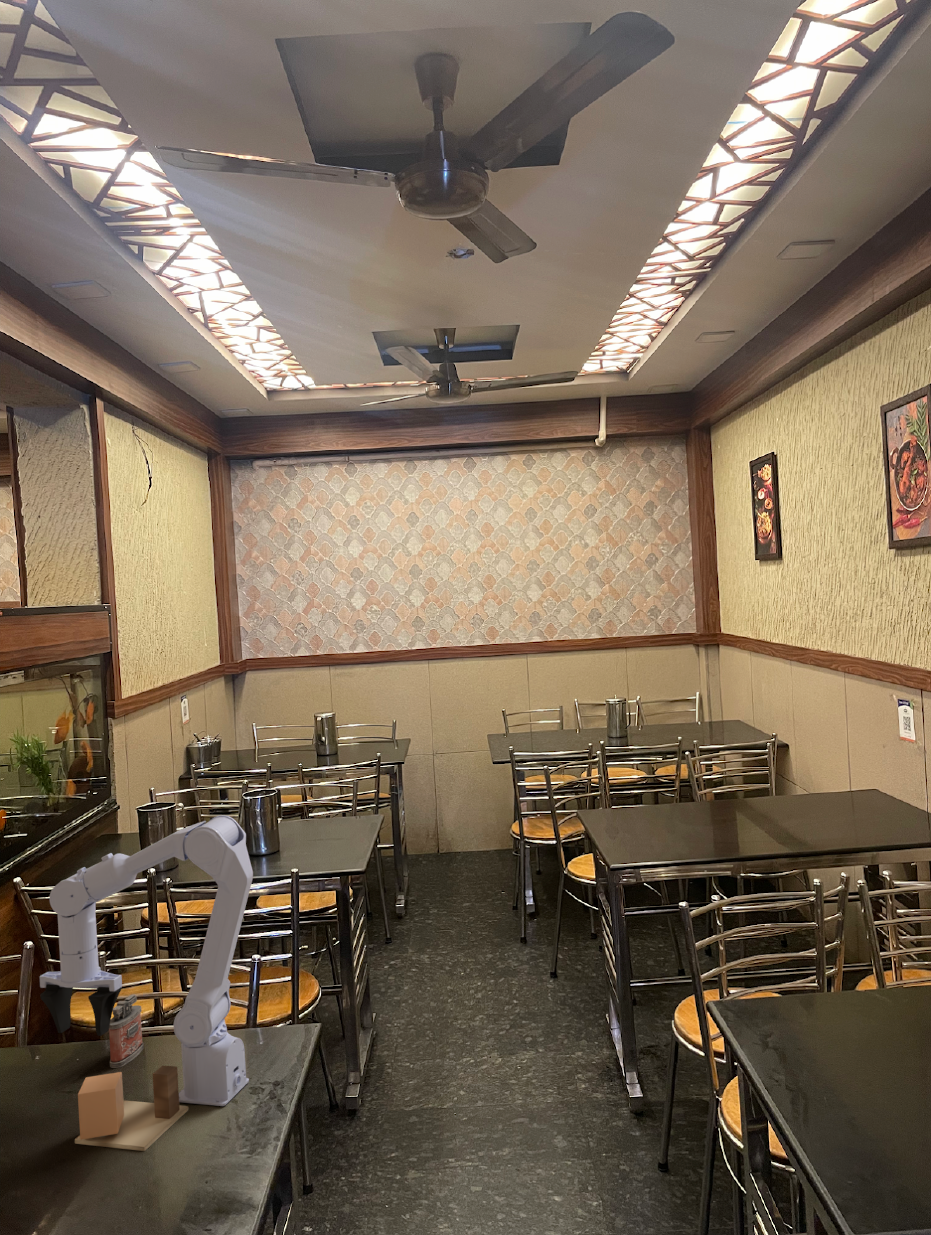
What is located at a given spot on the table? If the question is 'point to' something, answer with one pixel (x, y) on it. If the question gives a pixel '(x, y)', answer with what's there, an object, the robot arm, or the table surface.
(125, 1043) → the lighter
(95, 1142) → the board
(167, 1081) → the post
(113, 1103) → the tan rectangular block
